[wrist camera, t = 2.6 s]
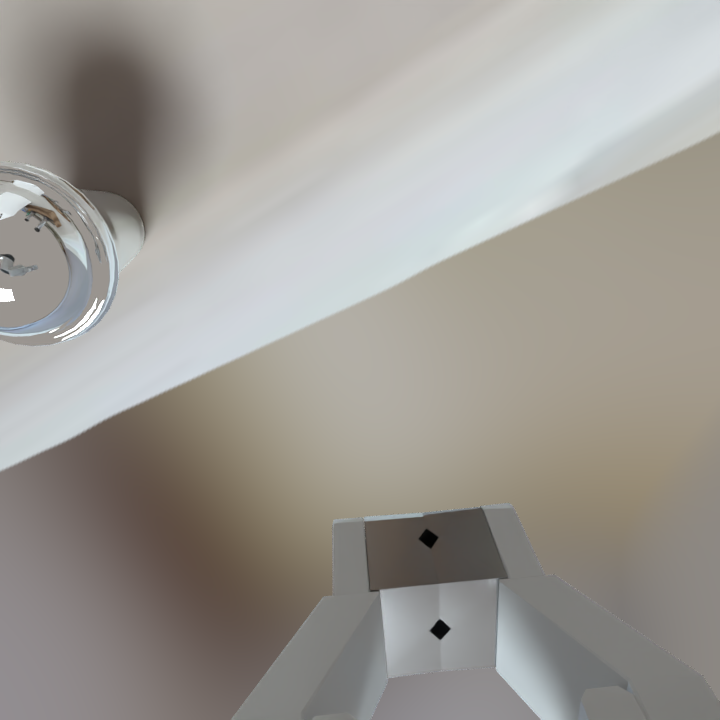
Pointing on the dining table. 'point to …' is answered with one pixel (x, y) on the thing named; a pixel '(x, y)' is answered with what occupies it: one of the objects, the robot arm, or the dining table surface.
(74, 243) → the cup with straw
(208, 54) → the dining table surface
